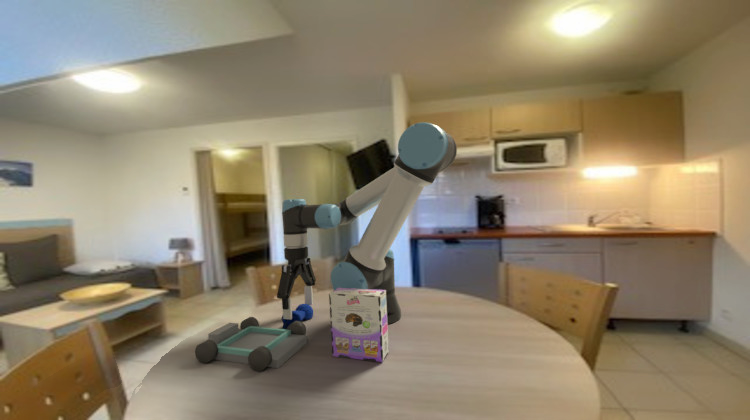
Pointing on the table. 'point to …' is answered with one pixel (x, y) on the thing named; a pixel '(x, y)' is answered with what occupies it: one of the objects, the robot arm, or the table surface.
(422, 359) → the table surface
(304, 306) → the toy
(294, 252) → the robot arm
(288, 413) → the table surface
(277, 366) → the chassis
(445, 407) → the table surface
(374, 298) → the candy box
